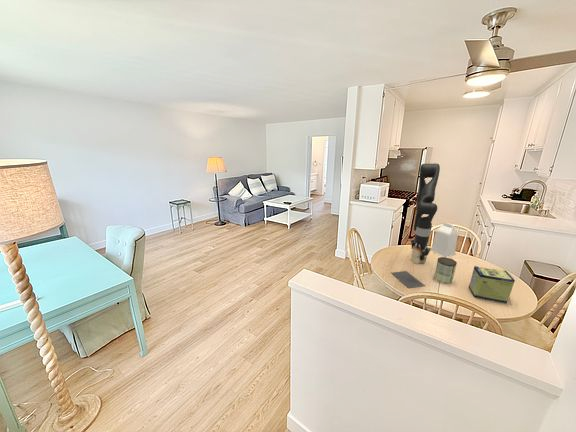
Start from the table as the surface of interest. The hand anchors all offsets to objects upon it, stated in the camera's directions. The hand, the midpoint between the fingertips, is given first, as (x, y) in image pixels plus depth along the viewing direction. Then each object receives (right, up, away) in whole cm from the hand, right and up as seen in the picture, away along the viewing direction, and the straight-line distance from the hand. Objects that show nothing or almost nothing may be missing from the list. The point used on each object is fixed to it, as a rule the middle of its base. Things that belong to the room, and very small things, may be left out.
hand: (418, 258), depth 143 cm
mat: (-4, -16, +6) cm, 17 cm away
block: (0, -2, +1) cm, 2 cm away
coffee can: (+20, -16, +5) cm, 26 cm away
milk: (+45, -4, +41) cm, 61 cm away
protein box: (+35, -20, -11) cm, 42 cm away
